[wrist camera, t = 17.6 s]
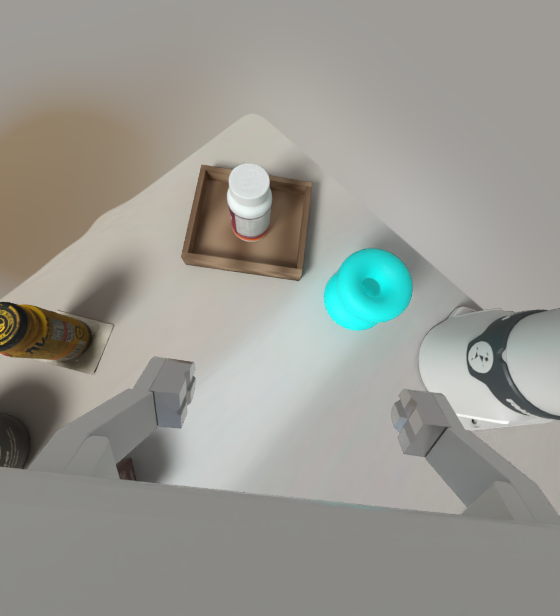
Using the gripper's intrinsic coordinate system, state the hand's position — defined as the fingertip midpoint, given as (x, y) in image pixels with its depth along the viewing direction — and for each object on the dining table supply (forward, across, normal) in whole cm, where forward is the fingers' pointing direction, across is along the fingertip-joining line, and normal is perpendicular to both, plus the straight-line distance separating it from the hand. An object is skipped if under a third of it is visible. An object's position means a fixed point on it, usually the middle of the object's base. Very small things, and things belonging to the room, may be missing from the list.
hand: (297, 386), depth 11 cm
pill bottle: (+38, +6, +5) cm, 39 cm away
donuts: (+32, -12, +13) cm, 36 cm away
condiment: (+23, +28, +21) cm, 42 cm away
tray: (+39, +6, +6) cm, 40 cm away
